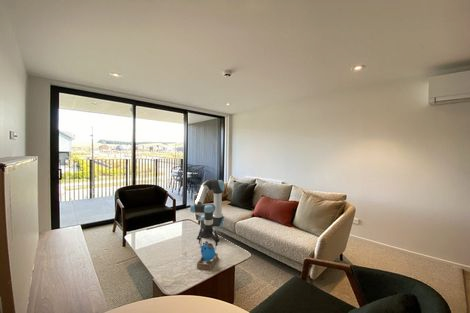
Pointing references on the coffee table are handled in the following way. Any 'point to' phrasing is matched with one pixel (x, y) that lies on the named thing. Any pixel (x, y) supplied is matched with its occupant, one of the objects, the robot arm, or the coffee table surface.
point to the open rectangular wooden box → (207, 263)
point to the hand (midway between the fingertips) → (208, 248)
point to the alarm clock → (207, 251)
